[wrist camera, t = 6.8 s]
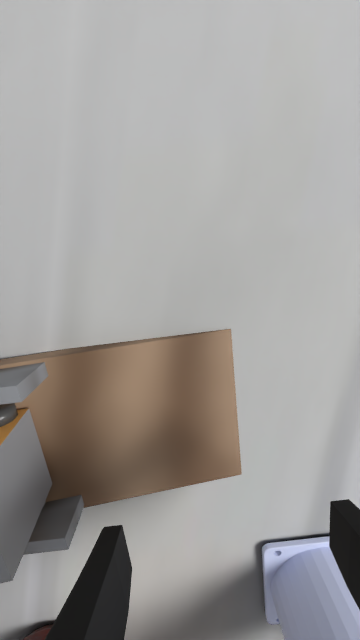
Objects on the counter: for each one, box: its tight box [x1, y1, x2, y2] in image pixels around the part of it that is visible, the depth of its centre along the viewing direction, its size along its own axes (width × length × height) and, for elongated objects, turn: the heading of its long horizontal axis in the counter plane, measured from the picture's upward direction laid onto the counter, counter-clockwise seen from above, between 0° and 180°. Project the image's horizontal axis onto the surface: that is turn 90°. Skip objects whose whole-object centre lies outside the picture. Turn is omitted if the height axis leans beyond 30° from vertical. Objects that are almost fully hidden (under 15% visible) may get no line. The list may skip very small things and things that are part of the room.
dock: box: [0, 329, 241, 555], centre depth 14 cm, size 19×10×5 cm, turn 97°
